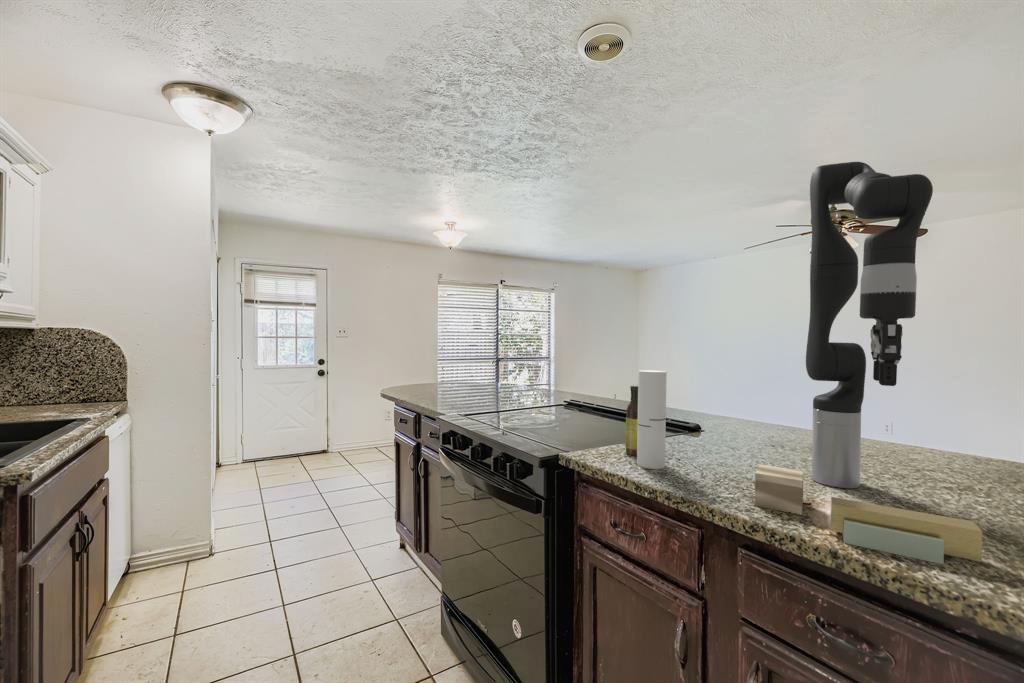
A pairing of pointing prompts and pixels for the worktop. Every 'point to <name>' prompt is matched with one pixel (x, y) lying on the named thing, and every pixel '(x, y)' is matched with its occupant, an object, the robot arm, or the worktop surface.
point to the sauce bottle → (632, 423)
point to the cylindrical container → (651, 419)
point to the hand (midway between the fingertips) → (884, 383)
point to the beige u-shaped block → (779, 488)
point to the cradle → (894, 541)
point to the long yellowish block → (912, 525)
